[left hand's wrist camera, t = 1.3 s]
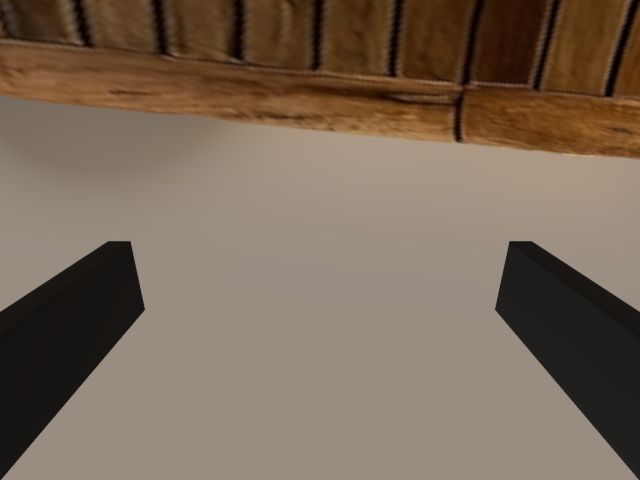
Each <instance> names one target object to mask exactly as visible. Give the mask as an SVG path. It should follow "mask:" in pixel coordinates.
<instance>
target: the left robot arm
mask: <svg viewBox="0 0 640 480" xmlns="http://www.w3.org/2000/svg"><path fill="white" fill-rule="evenodd" d="M144 310H145V308H144V303H143V298H142V294H141V289H140V284H139V279H138V275H137V270H136V265H135V261H134V256H133V251H132V246H131V242H130V241H108V242H106V243H105V244H103V245H102V246H100V247H99V248H97V249H96V250H94V251H93V252H91V253H90V254H88V255H87V256H85V257H84V258H82V259H80V260H79V261H77V262H76V263H74V264H73V265H71V266H70V267H68V268H67V269H65V270H64V271H62V272H61V273H59V274H58V275H56V276H54V277H53V278H51V279H50V280H48V281H47V282H45V283H44V284H42V285H41V286H39V287H38V288H36V289H35V290H33V291H32V292H30V293H28V294H27V295H25V296H24V297H22V298H21V299H19V300H18V301H16V302H15V303H13V304H12V305H10V306H9V307H7V308H6V309H4V310H2V311H1V312H0V480H1V479H2V478H3V477H4V476H5V474H6V473H7V472H8V471H9V470H10V469H11V467H12V466H13V465H14V464H15V463H16V461H17V460H18V459H19V458H20V457H21V456H22V454H23V453H24V452H25V451H26V450H27V448H28V447H29V446H30V445H31V444H32V443H33V441H34V440H35V439H36V438H37V437H38V435H39V434H40V433H41V432H42V431H43V430H44V428H45V427H46V426H47V425H48V424H49V422H50V421H51V420H52V419H53V418H54V417H55V415H56V414H57V413H58V412H59V411H60V409H61V408H62V407H63V406H64V405H65V404H66V402H67V401H68V400H69V399H70V398H71V396H72V395H73V394H74V393H75V392H76V391H77V389H78V388H79V387H80V386H81V385H82V383H83V382H84V381H85V380H86V379H87V378H88V376H89V375H90V374H91V373H92V372H93V370H94V369H95V368H96V367H97V366H98V365H99V363H100V362H101V361H102V360H103V359H104V357H105V356H106V355H107V354H108V353H109V352H110V350H111V349H112V348H113V347H114V346H115V344H116V343H117V342H118V341H119V340H120V339H121V337H122V336H123V335H124V334H125V333H126V331H127V330H128V329H129V328H130V327H131V326H132V324H133V323H134V322H135V321H136V320H137V318H138V317H139V316H140V315H141V314H142V313H143V311H144ZM495 310H496V311H497V312H498V314H499V315H500V316H501V317H502V318H503V320H504V321H505V322H506V323H507V324H508V326H509V327H510V328H511V329H512V330H513V331H514V333H515V334H516V335H517V336H518V337H519V339H520V340H521V341H522V342H523V343H524V344H525V346H526V347H527V348H528V349H529V350H530V352H531V353H532V354H533V355H534V356H535V357H536V359H537V360H538V361H539V362H540V363H541V364H542V366H543V367H544V368H545V369H546V370H547V372H548V373H549V374H550V375H551V376H552V378H553V379H554V380H555V381H556V382H557V383H558V385H559V386H560V387H561V388H562V389H563V391H564V392H565V393H566V394H567V395H568V396H569V398H570V399H571V400H572V401H573V402H574V404H575V405H576V406H577V407H578V408H579V409H580V411H581V412H582V413H583V414H584V415H585V416H586V418H587V419H588V420H589V421H590V422H591V424H592V425H593V426H594V427H595V428H596V429H597V431H598V432H599V433H600V434H601V435H602V437H603V438H604V439H605V440H606V441H607V442H608V444H609V445H610V446H611V447H612V448H613V450H614V451H615V452H616V453H617V454H618V456H619V457H620V458H621V459H622V460H623V461H624V463H625V464H626V465H627V466H628V467H629V469H630V470H631V471H632V472H633V473H634V474H635V476H636V477H637V478H638V479H639V480H640V312H639V311H637V310H636V309H634V308H633V307H631V306H630V305H628V304H627V303H625V302H624V301H622V300H621V299H619V298H618V297H616V296H615V295H613V294H612V293H610V292H608V291H607V290H605V289H604V288H602V287H601V286H599V285H598V284H596V283H595V282H593V281H592V280H590V279H589V278H587V277H586V276H584V275H582V274H581V273H579V272H578V271H576V270H575V269H573V268H572V267H570V266H569V265H567V264H566V263H564V262H563V261H561V260H559V259H558V258H556V257H555V256H553V255H552V254H550V253H549V252H547V251H546V250H544V249H543V248H541V247H540V246H538V245H537V244H535V243H534V242H532V241H510V242H509V246H508V251H507V256H506V261H505V265H504V270H503V275H502V279H501V284H500V289H499V293H498V298H497V303H496V308H495Z"/></svg>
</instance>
